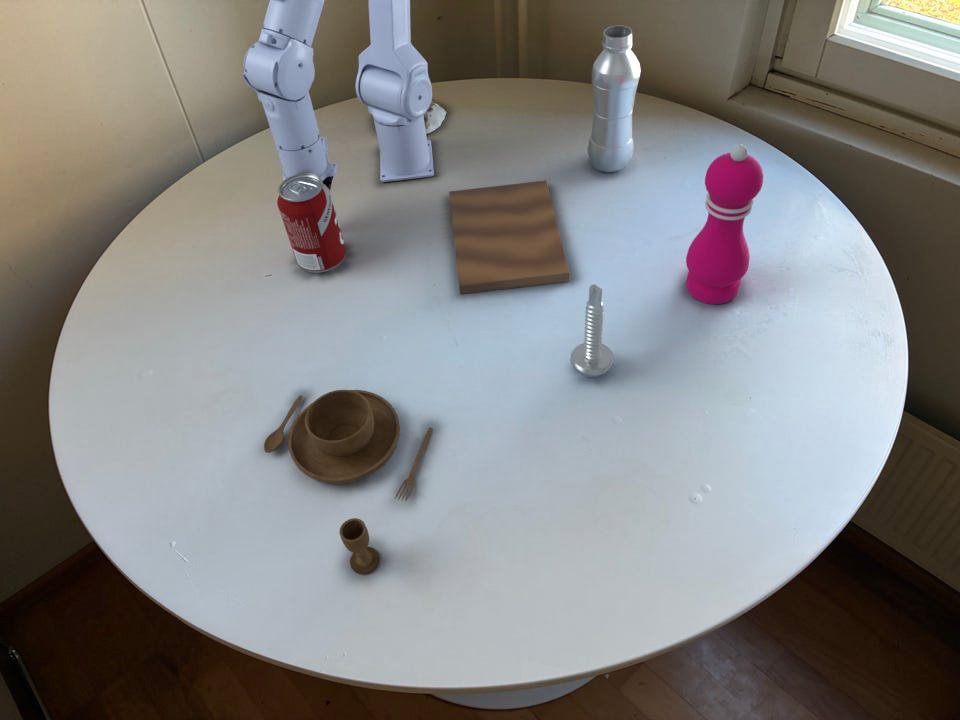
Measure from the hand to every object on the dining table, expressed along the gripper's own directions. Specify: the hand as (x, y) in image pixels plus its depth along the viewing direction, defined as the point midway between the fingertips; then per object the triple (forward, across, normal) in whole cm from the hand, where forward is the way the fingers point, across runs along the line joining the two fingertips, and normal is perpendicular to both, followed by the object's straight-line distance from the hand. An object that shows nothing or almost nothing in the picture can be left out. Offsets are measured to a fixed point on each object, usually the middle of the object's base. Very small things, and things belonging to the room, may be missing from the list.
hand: (321, 224), depth 106 cm
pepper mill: (+2, -11, -52) cm, 53 cm away
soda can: (+2, -6, -1) cm, 6 cm away
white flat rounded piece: (+2, +29, -8) cm, 30 cm away
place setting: (+2, -40, -10) cm, 41 cm away
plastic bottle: (+2, +16, -40) cm, 43 cm away
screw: (+2, -25, -37) cm, 45 cm away
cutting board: (+1, -1, -26) cm, 26 cm away
